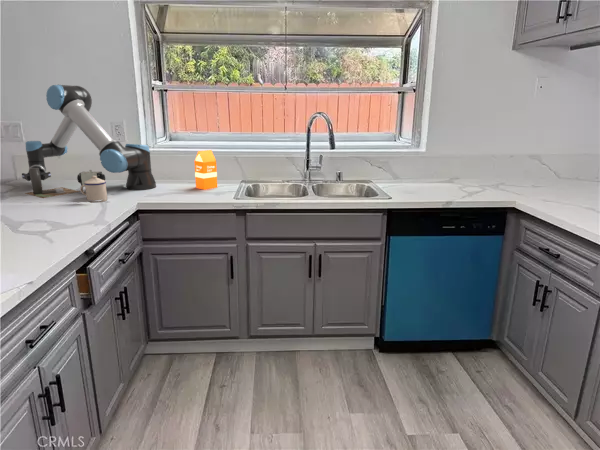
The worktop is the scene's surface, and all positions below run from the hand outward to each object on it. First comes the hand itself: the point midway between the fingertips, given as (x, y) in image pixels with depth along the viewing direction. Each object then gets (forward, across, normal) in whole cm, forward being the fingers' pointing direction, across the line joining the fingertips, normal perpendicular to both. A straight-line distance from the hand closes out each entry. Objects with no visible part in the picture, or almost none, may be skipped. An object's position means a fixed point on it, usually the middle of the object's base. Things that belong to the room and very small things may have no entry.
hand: (35, 180), depth 199 cm
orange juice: (+17, -79, -7) cm, 81 cm away
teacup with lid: (+24, -23, -7) cm, 34 cm away
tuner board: (+1, -6, -7) cm, 10 cm away
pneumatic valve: (+8, -24, -7) cm, 26 cm away
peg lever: (+2, -5, -6) cm, 8 cm away
